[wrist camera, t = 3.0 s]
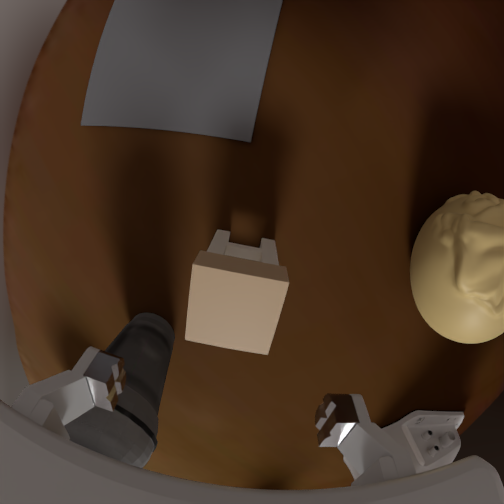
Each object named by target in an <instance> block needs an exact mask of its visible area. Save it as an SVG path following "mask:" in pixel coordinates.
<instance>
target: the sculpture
mask: <svg viewBox="0 0 504 504" xmlns="http://www.w3.org/2000/svg"><path fill="white" fill-rule="evenodd" d="M410 280H411V288H412V293H413V296H414V300H415V303H416V305H417V307H418V310H419V312H420V313H421V315H422V317H423V318H424V320H425V321H426V322H427V323H428V325H429V326H430V327H431V328H433V329H434V330H435V331H436V332H437V333H439V334H440V335H442V336H444V337H446V338H448V339H450V340H453V341H456V342H460V343H467V344H475V343H482V342H486V341H489V340H491V339H494V338H496V337H497V336H499V335H501V334H502V333H503V332H504V199H499V198H497V197H496V196H494V195H492V194H490V193H484V194H482V195H481V193H480V192H478V191H472V192H471V193H470V194H469V195H467V194H460V195H457V196H454V197H451V198H449V199H448V200H447V201H446V203H445V204H444V205H443V206H442V207H440V208H439V209H438V210H436V211H435V212H434V213H433V214H432V215H431V216H430V217H429V218H428V219H427V220H426V222H425V223H424V225H423V226H422V228H421V230H420V232H419V234H418V236H417V238H416V241H415V243H414V247H413V250H412V255H411V262H410Z"/></svg>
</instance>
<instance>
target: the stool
mask: <svg viewBox="0 0 504 504" xmlns="http://www.w3.org/2000/svg"><path fill="white" fill-rule="evenodd" d="M229 238H230V232H229V231H224V230H219V229H217V231H216V233H215V236H214V238H213V240H212V242H211V244H210V246H209V248H208V250H207V252H206V251H201V250H200V252H199V254H198V255H197V257H196V259H195V261H194V263H193V267H192V275H191V284H190V293H189V302H188V312H187V323H186V334H185V340H189V341H194V342H199V343H203V344H208V345H213V346H218V347H224V348H229V349H235V350H241V351H247V352H253V353H259V354H266V355H268V352H269V349H270V346H271V342H272V339H273V336H274V333H275V329H276V326H277V323H278V320H279V316H280V313H281V310H282V306H283V303H284V299H285V296H286V292H287V289H288V285H289V279H288V274H287V269H286V267H284V266H279V263H278V257H277V251H276V245H275V240H270V239H265V238H262V239H261V244H260V248H256V247H251V246H246V245H241V244H236V243H231V242H229ZM227 255H228V256H227ZM232 256H233V257H232ZM237 257H238V258H237ZM242 258H244V259H242ZM247 259H249V260H247ZM253 260H254V261H253ZM258 261H259V262H258Z"/></svg>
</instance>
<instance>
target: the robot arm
mask: <svg viewBox="0 0 504 504" xmlns="http://www.w3.org/2000/svg"><path fill="white" fill-rule="evenodd" d="M124 365H125V362H124V358H122V357H119V356H117V355H114V354H111V353H108V352H105V351H103V350H99V349H97V348H94V347H91V346H90V347H89V348H87V350H86V351H85V352H84V354H83V355H82V357H81V358H80V359H79V361H78V362H77V364H76V365H75V366H74V368H73V369H72V371H70V370H67V371H64V372H62V373H60V374H57V375H55V376H52V377H50V378H47V379H45V380H42V381H40V382H37V383H34V384H32V385H29V386H27V387H25V388H24V390H23V391H22V392H21V394H20V395H19V397H18V398H17V399H16V401H15V402H14V404H13V405H12V406H11V407H10V406H9V405H7V404H6V403H4V402H3V401H2V400H0V504H504V488H503V485H502V482H501V480H500V477H499V475H498V473H497V471H496V469H495V468H494V467H493V466H491V465H490V464H489V463H488V462H486V461H485V460H483V459H482V458H480V457H478V456H475V455H474V456H469V457H466V458H464V459H462V460H459V461H456V462H453V460H454V458H455V456H456V455H457V453H458V451H459V449H460V445H461V443H460V438H459V435H458V432H457V430H456V429H457V428H458V427H459V425H460V424H461V422H462V421H463V418H464V414H463V412H445V411H422V410H417V411H414V412H412V413H410V414H408V415H407V416H405V417H404V418H402V419H401V420H399V421H398V422H396V423H394V424H392V425H389V426H387V427H384V428H382V429H381V428H380V427H379V426H377V425H376V424H375V423H371V420H370V418H369V415H368V412H367V409H366V406H365V403H364V400H363V397H362V396H361V395H360V394H329V393H327V394H326V395H325V396H324V398H323V402H324V403H323V404H321V405H319V407H318V408H317V410H316V414H315V425H316V427H317V428H318V429H319V430H320V431H319V432H318V434H317V437H318V443H319V447H337V448H338V449H339V450H340V451H341V453H342V454H343V455H344V462H345V463H346V464H347V466H348V468H349V469H350V471H351V473H352V475H353V477H354V479H355V481H353V482H352V483H351V486H350V487H341V488H330V489H314V490H268V489H251V488H240V487H230V486H222V485H215V484H209V483H203V482H197V481H192V480H187V479H182V478H177V477H173V476H169V475H165V474H161V473H157V472H153V471H150V470H146V469H143V468H140V467H136V466H133V465H130V464H127V463H124V462H121V461H118V460H115V459H113V458H110V457H107V456H105V455H102V454H100V453H97V452H95V451H92V450H90V449H88V448H85V447H83V446H81V445H79V444H76V443H74V442H72V441H70V436H69V434H68V432H67V430H66V428H65V427H64V425H66V424H68V423H69V422H71V421H72V420H74V419H76V418H77V417H79V416H80V415H82V414H84V413H85V412H87V411H88V410H90V409H91V408H93V407H94V405H95V406H97V407H100V408H103V409H106V410H109V411H112V412H113V411H114V408H115V406H116V404H117V402H118V396H117V395H118V394H120V393H122V391H123V389H124V387H125V383H126V371H125V370H124V369H123V367H124ZM452 462H453V463H452Z"/></svg>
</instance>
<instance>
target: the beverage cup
mask: <svg viewBox="0 0 504 504" xmlns="http://www.w3.org/2000/svg"><path fill="white" fill-rule="evenodd" d="M174 339H175V336H174V331H173V329H172V327H171V325H170V324H169V323H168V322H167V321H166V320H165V319H163V318H162V317H160V316H158V315H156V314H153V313H140V314H138V315H136V316H135V317H134V318H133V320H131V322H130V323H128V324H127V325H126V326H125V327H124V329H123V330H122V331H121V332H120V333H119V335H118V336H117V337H116V338H115V339H114V341H113V342H112V343H111V344H110V345H109V347H108V348H107V349H106V350H105V352H108V353H111V354H114V355H117V356H119V357H122V358H124V362H125V365H124V367H123V369H124V370H125V371H126V383H125V387H124V389H123V391H122V393H120V394H118V395H117V396H118V402H117V404H116V406H115V408H114V411H113V412H112V411H109V410H106V409H103V408H100V407H97V406H95V405H94V407H93V408H91V409H90V410H88V411H87V412H85V413H84V414H82V415H80V416H79V417H77V418H76V419H74V420H72V421H71V422H69V423H68V424H66V425H64V427H65V428H66V430H67V432H68V434H69V436H70V441H72V442H74V443H76V444H79V445H81V446H83V447H85V448H88V449H90V450H92V451H95V452H97V453H100V454H102V455H105V456H107V457H110V458H113V459H115V460H118V461H121V462H124V463H127V464H130V465H133V466H136V467H140V468H143V467H144V466H145V465H146V463H147V462H148V460H149V459H150V456H151V454H152V452H154V450H155V449H156V446H157V439H156V436H157V432H158V417H157V415H158V411H159V406H160V401H161V397H162V392H163V388H164V383H165V379H166V375H167V370H168V366H169V362H170V358H171V354H172V350H173V342H174Z"/></svg>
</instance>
